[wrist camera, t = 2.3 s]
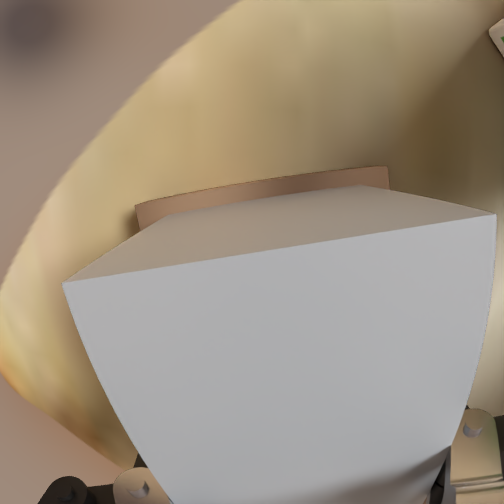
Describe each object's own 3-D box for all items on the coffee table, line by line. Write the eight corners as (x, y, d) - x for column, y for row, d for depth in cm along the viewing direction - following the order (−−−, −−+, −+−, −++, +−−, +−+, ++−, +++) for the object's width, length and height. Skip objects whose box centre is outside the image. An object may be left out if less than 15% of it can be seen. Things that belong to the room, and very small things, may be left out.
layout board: (373, 166, 10) (450, 168, 6) (373, 432, 13) (400, 499, 9) (146, 201, 10) (80, 225, 6) (221, 457, 14) (216, 530, 9)
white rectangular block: (361, 184, 9) (496, 214, 3) (361, 447, 12) (396, 546, 6) (167, 215, 9) (61, 282, 4) (238, 467, 12) (236, 573, 7)
